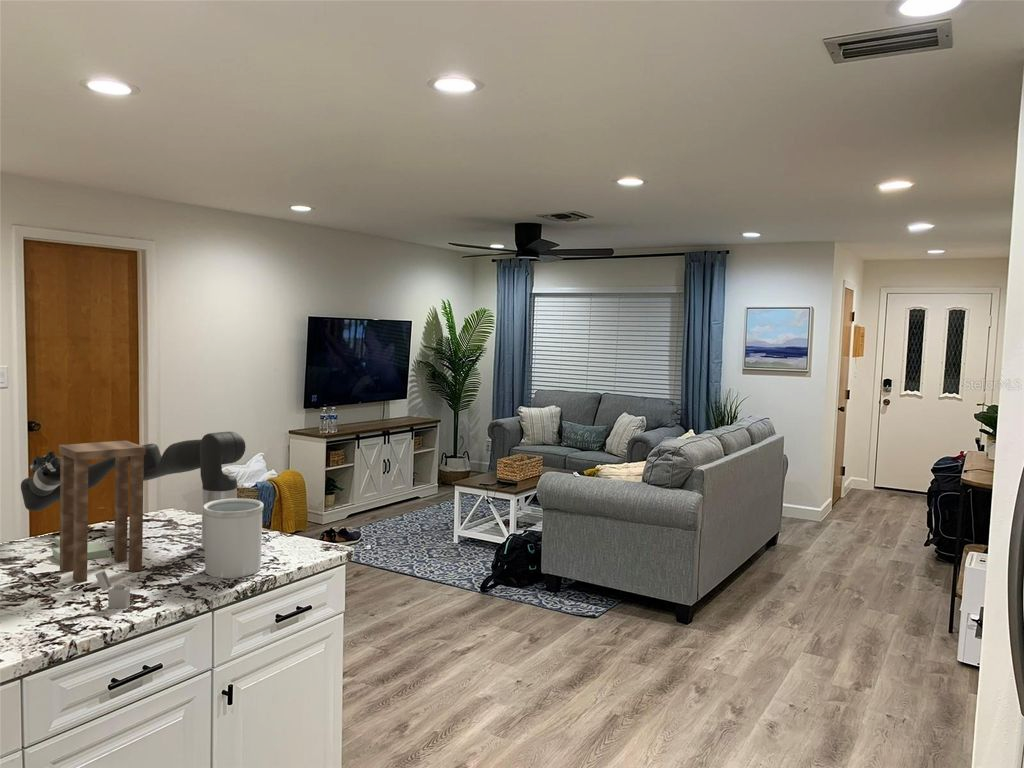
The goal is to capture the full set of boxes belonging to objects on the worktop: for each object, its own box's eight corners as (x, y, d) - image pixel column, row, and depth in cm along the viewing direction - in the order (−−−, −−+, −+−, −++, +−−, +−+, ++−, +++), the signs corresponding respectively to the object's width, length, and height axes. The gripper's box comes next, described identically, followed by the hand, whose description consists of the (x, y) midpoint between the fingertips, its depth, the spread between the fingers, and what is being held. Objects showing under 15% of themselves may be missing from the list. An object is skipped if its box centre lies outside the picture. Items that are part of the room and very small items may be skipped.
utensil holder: (226, 583, 190) (227, 514, 189) (189, 571, 198) (190, 504, 197) (274, 569, 202) (275, 504, 201) (238, 558, 210) (239, 495, 209)
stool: (124, 558, 206) (125, 440, 203) (143, 570, 197) (145, 447, 195) (58, 569, 194) (58, 445, 192) (75, 583, 185) (76, 452, 183)
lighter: (130, 606, 172) (130, 571, 172) (126, 609, 170) (126, 573, 170) (99, 604, 172) (99, 569, 172) (94, 607, 170) (95, 572, 170)
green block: (82, 539, 221) (82, 532, 221) (108, 556, 207) (108, 549, 207) (39, 546, 213) (39, 539, 212) (63, 564, 199) (63, 556, 199)
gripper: (20, 464, 217) (36, 441, 207) (76, 459, 228) (93, 438, 218) (24, 489, 215) (40, 467, 205) (80, 483, 226) (98, 462, 215)
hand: (67, 452), depth 211 cm, fingers open, 6 cm apart
